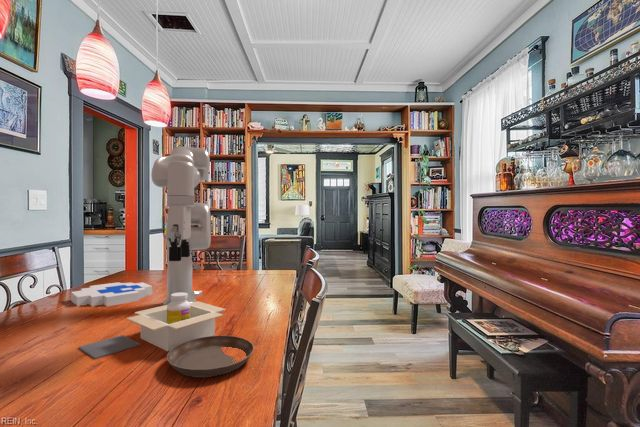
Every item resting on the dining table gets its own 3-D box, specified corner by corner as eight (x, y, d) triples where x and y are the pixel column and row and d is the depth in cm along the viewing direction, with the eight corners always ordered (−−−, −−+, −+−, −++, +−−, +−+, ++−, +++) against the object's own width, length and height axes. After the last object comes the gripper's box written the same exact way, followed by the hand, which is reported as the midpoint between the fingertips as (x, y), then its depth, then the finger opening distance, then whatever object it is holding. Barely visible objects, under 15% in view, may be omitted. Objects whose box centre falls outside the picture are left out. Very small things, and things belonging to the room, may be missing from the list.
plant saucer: (223, 340, 95) (223, 328, 95) (270, 360, 82) (270, 347, 82) (151, 364, 79) (151, 351, 79) (195, 395, 66) (195, 379, 66)
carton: (190, 319, 113) (191, 299, 113) (233, 333, 99) (234, 311, 99) (119, 339, 94) (120, 315, 94) (160, 360, 80) (161, 333, 80)
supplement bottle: (181, 341, 93) (181, 297, 93) (161, 339, 94) (161, 296, 94) (194, 333, 99) (195, 292, 99) (175, 331, 100) (176, 290, 100)
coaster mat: (122, 336, 96) (122, 334, 96) (140, 345, 90) (140, 343, 90) (78, 348, 87) (78, 346, 87) (95, 359, 81) (95, 357, 81)
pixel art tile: (137, 279, 160) (159, 289, 142) (137, 287, 160) (159, 298, 142) (67, 288, 140) (82, 301, 121) (67, 297, 140) (81, 311, 121)
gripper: (175, 203, 105) (174, 255, 104) (157, 200, 88) (156, 263, 87) (199, 203, 106) (198, 255, 105) (186, 201, 89) (185, 262, 88)
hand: (179, 258), depth 96 cm, fingers open, 9 cm apart
